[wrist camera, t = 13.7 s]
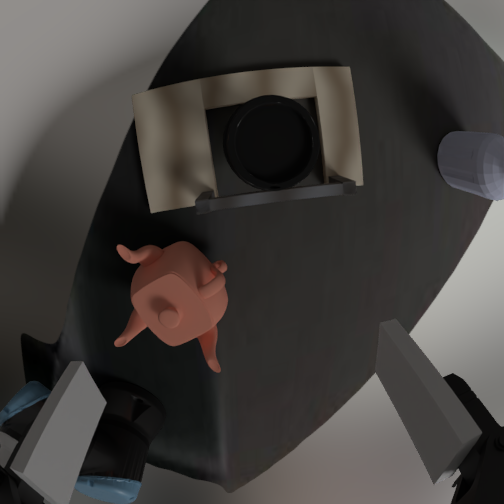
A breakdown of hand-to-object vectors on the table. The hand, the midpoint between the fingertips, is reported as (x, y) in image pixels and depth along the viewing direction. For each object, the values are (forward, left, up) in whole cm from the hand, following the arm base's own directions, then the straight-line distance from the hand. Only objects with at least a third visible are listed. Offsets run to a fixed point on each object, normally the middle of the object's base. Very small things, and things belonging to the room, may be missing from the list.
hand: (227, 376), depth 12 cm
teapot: (-10, -9, -30) cm, 33 cm away
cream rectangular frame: (+3, +10, -30) cm, 31 cm away
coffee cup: (+4, +9, -30) cm, 31 cm away
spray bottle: (+35, +5, -30) cm, 46 cm away
